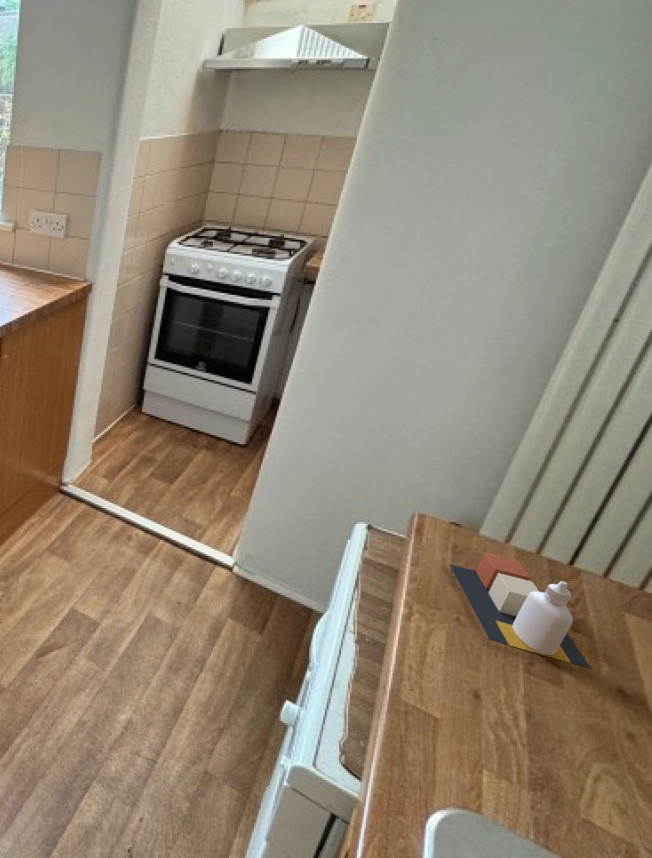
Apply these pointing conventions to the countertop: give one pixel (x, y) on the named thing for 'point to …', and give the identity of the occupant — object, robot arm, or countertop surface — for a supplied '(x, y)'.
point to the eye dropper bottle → (544, 619)
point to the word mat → (505, 619)
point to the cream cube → (510, 593)
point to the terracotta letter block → (498, 569)
